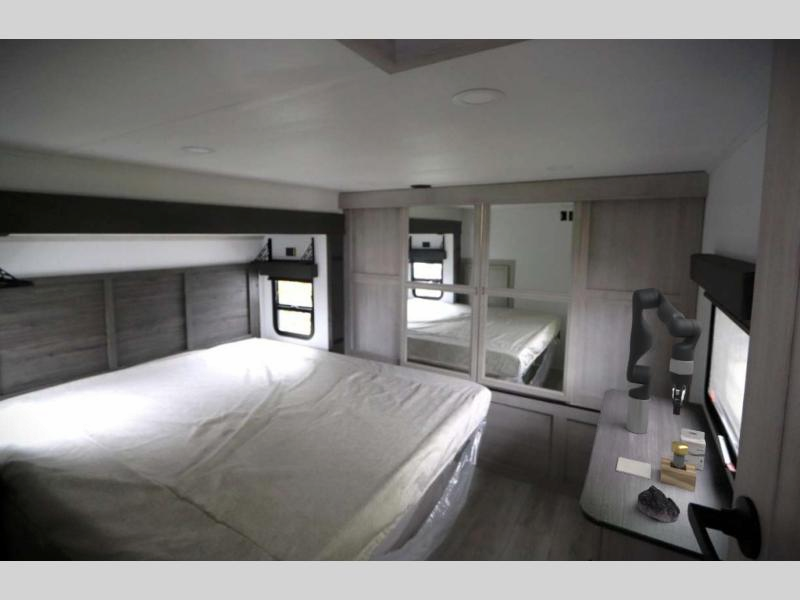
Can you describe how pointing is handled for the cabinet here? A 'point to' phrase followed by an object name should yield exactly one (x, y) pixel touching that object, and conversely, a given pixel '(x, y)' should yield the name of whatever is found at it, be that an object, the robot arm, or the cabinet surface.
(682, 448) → the grey gold cylinder
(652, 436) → the cabinet surface
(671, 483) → the wooden block
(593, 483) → the cabinet surface
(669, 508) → the crystal cluster
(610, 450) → the cabinet surface
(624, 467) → the pad
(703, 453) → the ink box
